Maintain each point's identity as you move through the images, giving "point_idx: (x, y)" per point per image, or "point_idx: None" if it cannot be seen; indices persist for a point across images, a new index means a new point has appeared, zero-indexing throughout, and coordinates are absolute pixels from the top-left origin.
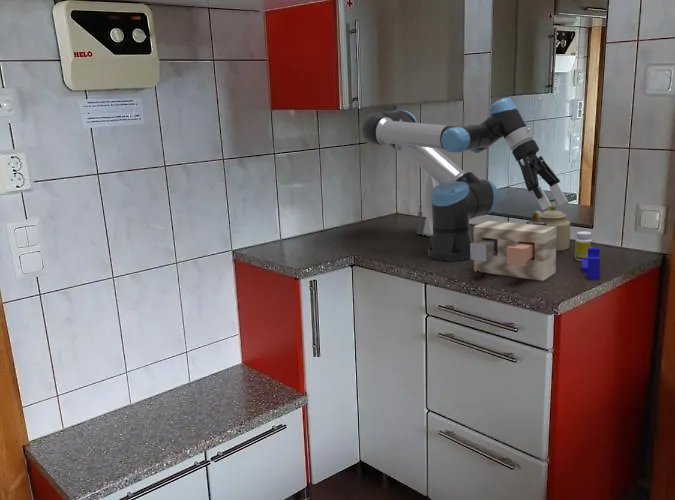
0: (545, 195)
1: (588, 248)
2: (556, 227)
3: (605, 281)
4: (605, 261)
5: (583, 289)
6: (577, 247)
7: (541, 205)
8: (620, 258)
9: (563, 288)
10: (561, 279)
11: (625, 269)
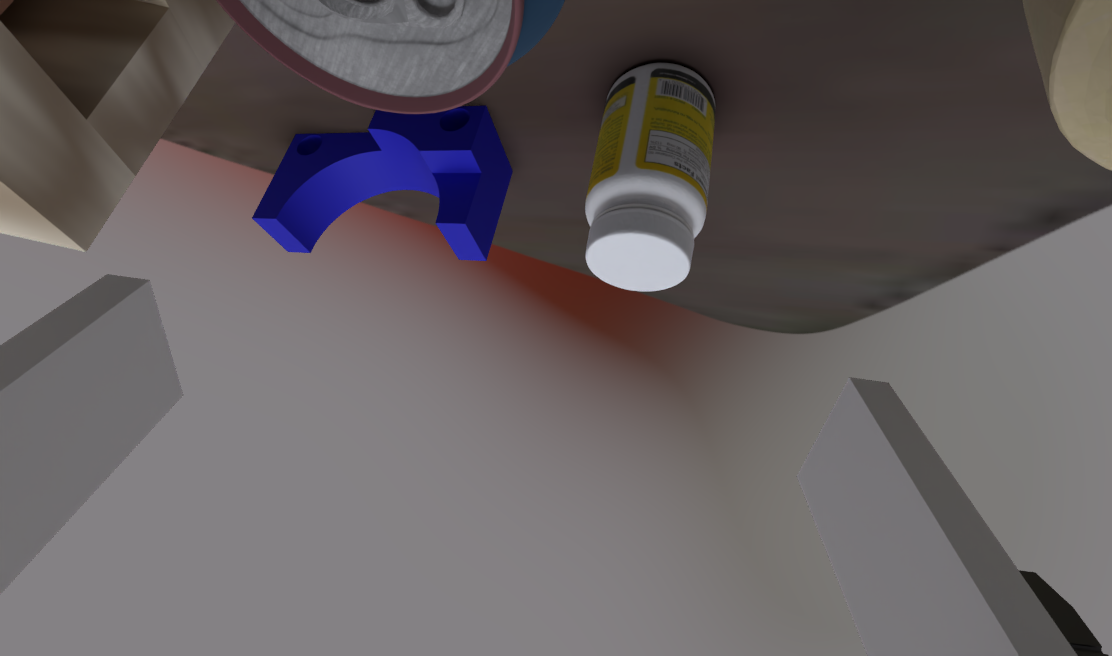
0: (29, 531)
1: (450, 224)
2: (90, 244)
3: None
4: None
5: None
6: (605, 147)
7: (55, 332)
8: (721, 245)
9: None
10: None
11: (529, 246)
